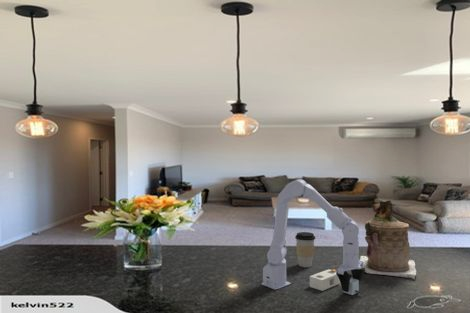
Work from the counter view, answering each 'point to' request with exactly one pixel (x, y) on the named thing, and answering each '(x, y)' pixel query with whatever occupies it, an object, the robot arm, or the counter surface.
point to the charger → (353, 287)
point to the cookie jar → (387, 244)
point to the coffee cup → (305, 248)
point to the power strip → (324, 280)
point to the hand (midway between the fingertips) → (351, 288)
